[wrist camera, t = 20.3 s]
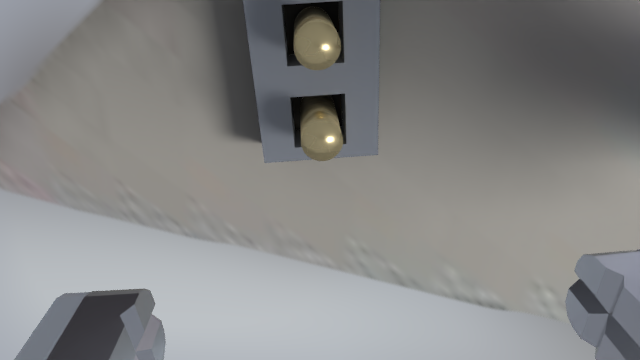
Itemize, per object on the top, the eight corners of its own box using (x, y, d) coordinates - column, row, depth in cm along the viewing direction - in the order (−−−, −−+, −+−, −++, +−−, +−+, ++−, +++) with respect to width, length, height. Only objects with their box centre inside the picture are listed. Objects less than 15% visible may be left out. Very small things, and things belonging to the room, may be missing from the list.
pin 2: (334, 88, 38) (342, 120, 31) (335, 121, 39) (343, 159, 33) (298, 91, 38) (299, 123, 31) (301, 124, 39) (302, 162, 32)
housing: (246, -17, 33) (241, -12, 30) (371, -25, 34) (380, -21, 30) (267, 144, 40) (264, 162, 37) (370, 136, 40) (377, 154, 37)
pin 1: (331, 5, 34) (340, 20, 28) (332, 44, 36) (341, 68, 29) (292, 7, 34) (291, 23, 27) (295, 47, 36) (295, 72, 29)
